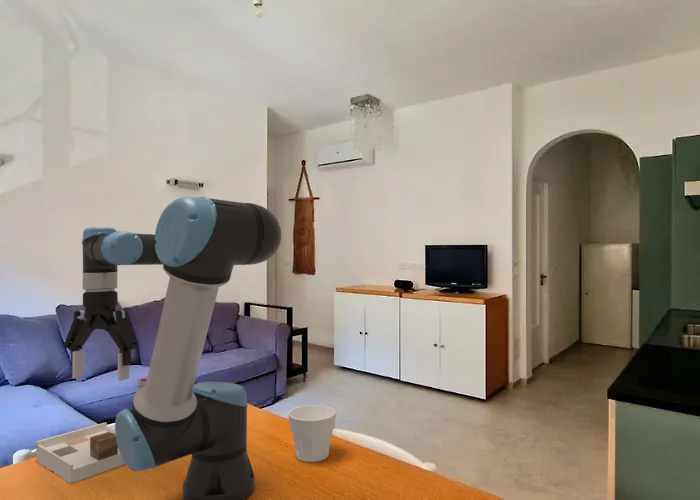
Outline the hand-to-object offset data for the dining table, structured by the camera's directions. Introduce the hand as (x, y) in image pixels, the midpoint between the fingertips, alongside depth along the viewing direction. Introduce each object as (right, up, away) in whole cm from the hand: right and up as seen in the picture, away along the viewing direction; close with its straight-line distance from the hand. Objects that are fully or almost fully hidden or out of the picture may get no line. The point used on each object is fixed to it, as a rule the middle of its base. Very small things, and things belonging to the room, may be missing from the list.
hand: (100, 378), depth 111 cm
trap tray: (-6, -22, +5) cm, 24 cm away
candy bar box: (+2, -23, +26) cm, 35 cm away
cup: (+51, -22, +7) cm, 56 cm away
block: (0, -19, +1) cm, 19 cm away
